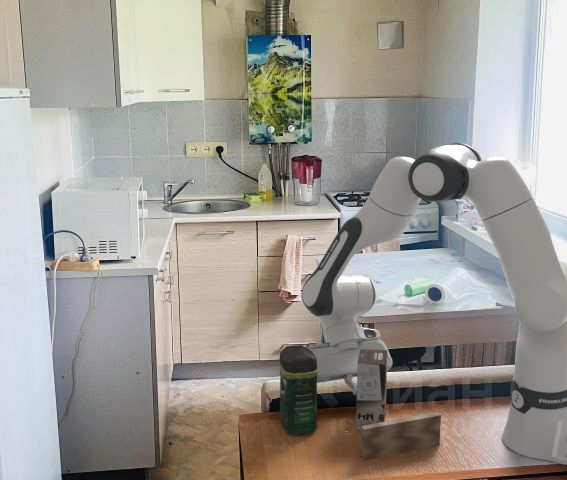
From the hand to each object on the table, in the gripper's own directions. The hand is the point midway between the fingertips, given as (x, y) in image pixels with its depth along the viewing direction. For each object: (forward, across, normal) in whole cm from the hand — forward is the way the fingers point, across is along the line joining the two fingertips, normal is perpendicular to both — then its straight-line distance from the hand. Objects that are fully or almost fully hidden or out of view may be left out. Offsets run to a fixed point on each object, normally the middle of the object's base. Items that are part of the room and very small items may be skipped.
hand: (360, 393), depth 163 cm
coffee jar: (+5, -17, +1) cm, 18 cm away
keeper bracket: (+16, 0, -10) cm, 19 cm away
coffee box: (+8, 0, -1) cm, 8 cm away
